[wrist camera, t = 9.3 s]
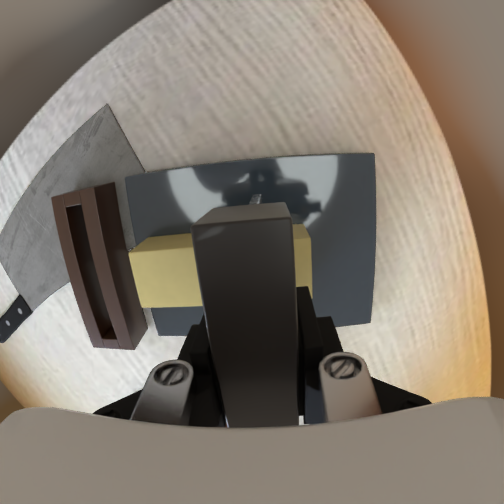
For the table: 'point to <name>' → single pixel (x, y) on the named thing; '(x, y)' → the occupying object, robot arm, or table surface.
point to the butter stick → (166, 272)
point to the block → (99, 266)
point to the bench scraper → (251, 310)
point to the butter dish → (300, 208)
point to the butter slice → (302, 256)
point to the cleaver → (42, 216)
